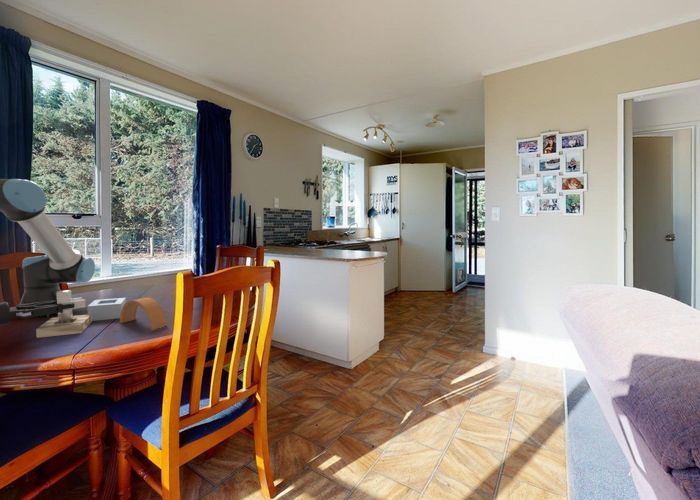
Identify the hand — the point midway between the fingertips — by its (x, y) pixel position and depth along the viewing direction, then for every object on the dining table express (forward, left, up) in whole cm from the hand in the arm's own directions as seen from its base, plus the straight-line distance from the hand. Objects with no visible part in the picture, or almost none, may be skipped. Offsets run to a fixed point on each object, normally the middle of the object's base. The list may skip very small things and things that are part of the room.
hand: (83, 302), depth 124 cm
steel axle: (+2, -5, -9) cm, 10 cm away
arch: (+6, +19, -9) cm, 23 cm away
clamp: (-22, -15, -9) cm, 28 cm away
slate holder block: (-12, +5, -9) cm, 16 cm away
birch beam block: (+2, -5, -9) cm, 10 cm away
